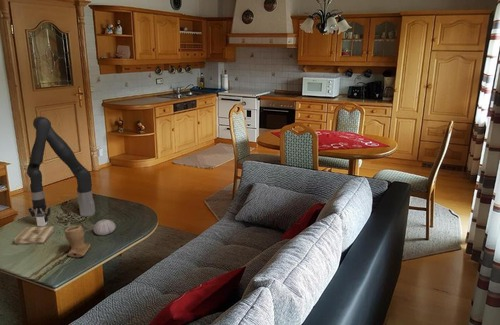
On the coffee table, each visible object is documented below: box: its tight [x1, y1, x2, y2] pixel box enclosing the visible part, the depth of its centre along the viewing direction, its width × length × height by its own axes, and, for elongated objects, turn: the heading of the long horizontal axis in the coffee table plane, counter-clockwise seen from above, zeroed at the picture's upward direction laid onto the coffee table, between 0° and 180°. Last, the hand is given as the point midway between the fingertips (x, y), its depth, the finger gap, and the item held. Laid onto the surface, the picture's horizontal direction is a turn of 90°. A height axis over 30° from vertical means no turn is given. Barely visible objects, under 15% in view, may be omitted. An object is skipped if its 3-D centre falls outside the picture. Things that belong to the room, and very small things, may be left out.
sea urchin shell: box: [93, 218, 116, 236], centre depth 256 cm, size 13×14×8 cm
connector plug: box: [35, 213, 48, 227], centre depth 266 cm, size 5×5×8 cm
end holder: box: [14, 225, 55, 246], centre depth 248 cm, size 16×16×4 cm
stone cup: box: [64, 224, 91, 259], centre depth 229 cm, size 15×12×15 cm
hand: (42, 221), depth 267 cm, fingers closed on connector plug, 4 cm apart
